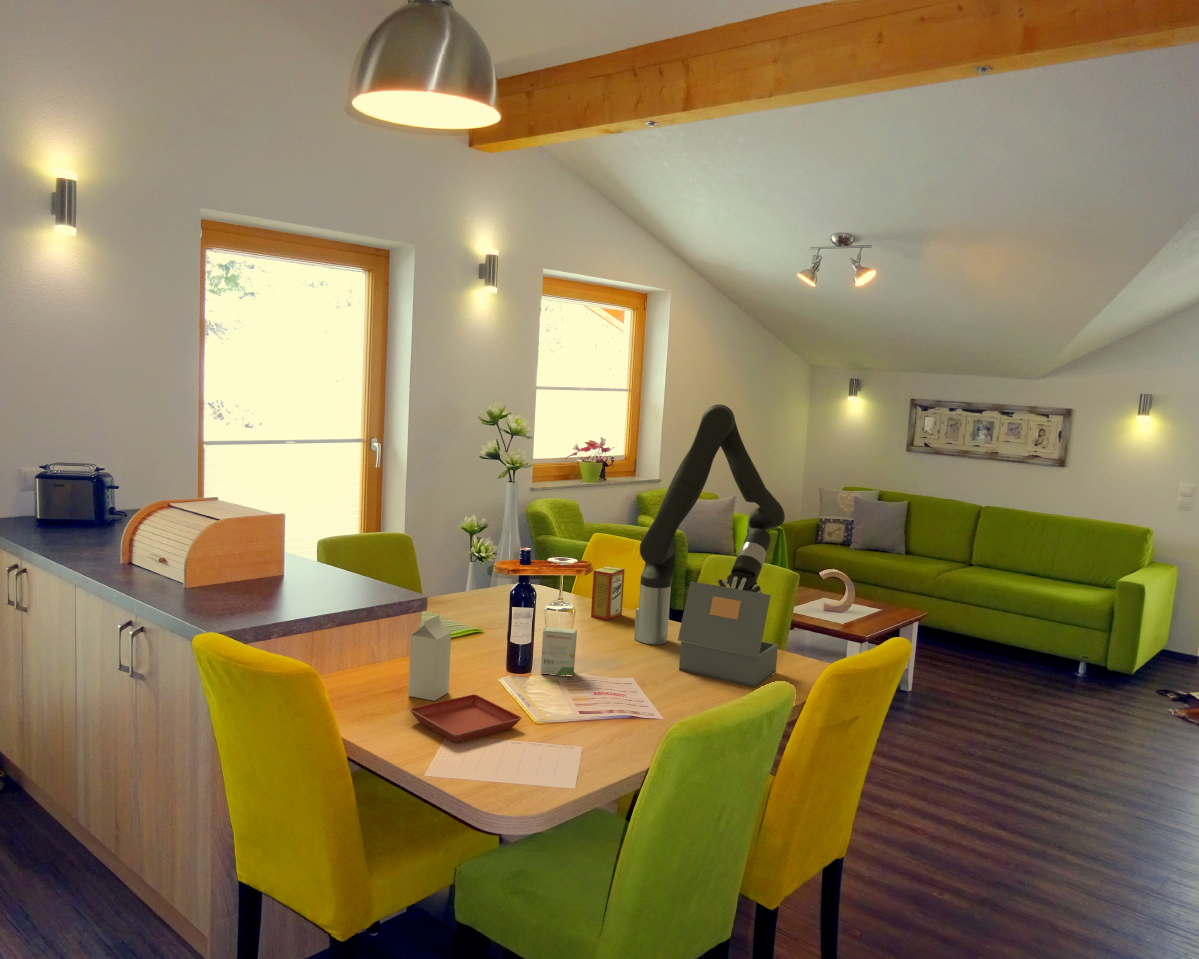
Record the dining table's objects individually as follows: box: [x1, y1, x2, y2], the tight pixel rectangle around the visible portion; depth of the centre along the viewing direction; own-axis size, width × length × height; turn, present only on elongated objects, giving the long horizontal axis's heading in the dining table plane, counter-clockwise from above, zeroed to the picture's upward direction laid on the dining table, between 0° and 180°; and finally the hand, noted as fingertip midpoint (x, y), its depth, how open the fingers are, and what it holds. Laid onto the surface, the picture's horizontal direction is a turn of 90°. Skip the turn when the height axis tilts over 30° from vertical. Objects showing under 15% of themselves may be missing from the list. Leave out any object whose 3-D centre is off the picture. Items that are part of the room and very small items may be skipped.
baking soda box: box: [590, 565, 625, 621], centre depth 307 cm, size 10×6×16 cm
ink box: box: [540, 626, 578, 676], centre depth 244 cm, size 9×5×12 cm, turn 84°
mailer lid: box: [677, 580, 771, 657], centre depth 248 cm, size 23×16×1 cm
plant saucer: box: [409, 693, 522, 744], centre depth 205 cm, size 18×18×3 cm
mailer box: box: [678, 640, 779, 688], centre depth 255 cm, size 22×16×8 cm
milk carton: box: [407, 613, 452, 702], centre depth 222 cm, size 7×7×19 cm
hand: (729, 613), depth 252 cm, fingers closed
